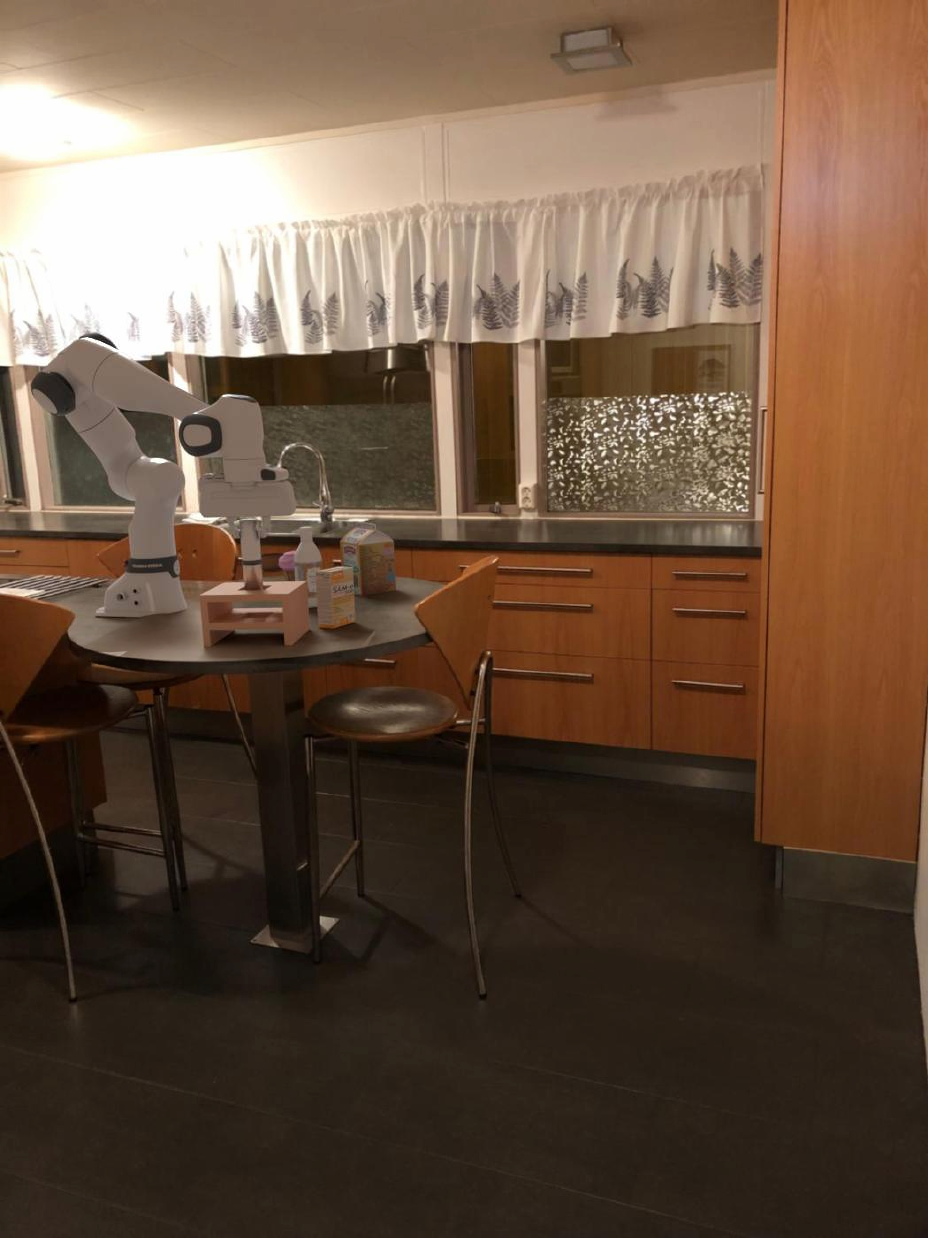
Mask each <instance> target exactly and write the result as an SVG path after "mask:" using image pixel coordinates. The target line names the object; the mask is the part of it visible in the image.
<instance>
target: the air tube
mask: <svg viewBox="0 0 928 1238" xmlns="http://www.w3.org/2000/svg"><path fill="white" fill-rule="evenodd" d="M238 523H239V529H240V538H239V539H240V548H241V565H242V573H243V582H244V589H245V590H263V582H264V580H263V579H264V578H263V573H262V571H263V570H262V559H261V555H262V551H261V538H258V532H257V530H258V529H260V527H259V526H260V525H259V519H258V518H247V519H246V518H245V519H239V520H238Z"/></svg>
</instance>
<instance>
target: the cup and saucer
mask: <svg viewBox="0 0 928 1238" xmlns="http://www.w3.org/2000/svg"><path fill="white" fill-rule="evenodd" d="M284 553H285V552H284ZM284 553H282V552H271V553H270V552H268V553H263V554H262V553H261V559H262V574H263V573H264V574H271V573H272V574H273V573H281V572H283V569H282V568H281V567H280V566H279V559H280V557H281V556H283V554H284Z"/></svg>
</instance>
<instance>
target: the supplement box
mask: <svg viewBox="0 0 928 1238" xmlns="http://www.w3.org/2000/svg"><path fill="white" fill-rule="evenodd" d="M315 575H316V591H317V607H316V609H317V622H318V623H317V624H318V626H317V627H319V628H323V629H337V628H341V627H343V626H346V625H350V624H353V623H356V608H355V607H356V604H355V603H356V602H355V601H356V600H355V594H354V580H353V567H341V566H335V567H330V568H325V569H323V570H320V571H315Z"/></svg>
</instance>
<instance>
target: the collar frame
mask: <svg viewBox="0 0 928 1238" xmlns="http://www.w3.org/2000/svg"><path fill="white" fill-rule="evenodd" d="M198 596H199V605H200V618H201V627H202V628H201V630H202V639H203V642H202V643H203V647H212V646H213V645H215V644H216V643H218V642H219V641H221V640H222V639H223V638H226V637H227V636H228V635H229V634H231V633H232V632H233V631H242V630H245V631H248V630H249V631H250V630H251V631H253V630H254V631H255V630H256V631H257V630H259V631H260V630H283V637H284V639H283V640H284V646H293V645H294V644H295V643H296V642H297V641H299V639H301V638H302V637H303V636H304V635H305V634H306V633H307V632H308V631H309V630H310V629H311V625H310V623H311V622H310V610H309V609H310V608H309V607H308V592H307V581H285V580H284V581H263V590H245V589H244V581H237V582H236V581H234V582H233V581H232V582H222V583H220V584H218V585H216V586H215V587H213V588H211V589H209V590H207V591H205V592H203V593H201V594H200V595H198ZM239 602H242V603H243V602H245V603H246V602H247V603H248V602H249V603H251V602H252V603H253V602H281V607H250V608H249V607H247V608H244V607H243V608H241V607H240V608H238V607H237V608H233V603H239Z"/></svg>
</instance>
